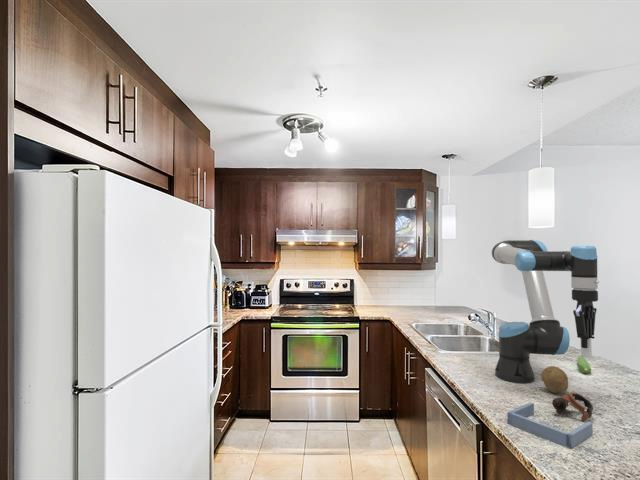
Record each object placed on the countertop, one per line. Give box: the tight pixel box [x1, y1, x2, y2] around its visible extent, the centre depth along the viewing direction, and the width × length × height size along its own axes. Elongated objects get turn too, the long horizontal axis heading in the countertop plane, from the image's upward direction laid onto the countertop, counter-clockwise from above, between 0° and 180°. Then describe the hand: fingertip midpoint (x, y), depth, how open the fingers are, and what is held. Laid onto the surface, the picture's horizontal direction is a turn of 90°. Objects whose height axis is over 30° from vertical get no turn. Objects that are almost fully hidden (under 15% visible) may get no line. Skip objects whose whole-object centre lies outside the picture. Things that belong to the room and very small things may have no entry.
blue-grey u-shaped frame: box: [506, 402, 594, 450], centre depth 113 cm, size 18×14×4 cm
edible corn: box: [576, 355, 592, 375], centre depth 171 cm, size 5×20×5 cm
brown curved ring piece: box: [552, 392, 594, 423], centre depth 122 cm, size 12×10×8 cm
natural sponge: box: [540, 365, 569, 394], centre depth 142 cm, size 9×9×10 cm
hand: (586, 356), depth 128 cm, fingers closed
